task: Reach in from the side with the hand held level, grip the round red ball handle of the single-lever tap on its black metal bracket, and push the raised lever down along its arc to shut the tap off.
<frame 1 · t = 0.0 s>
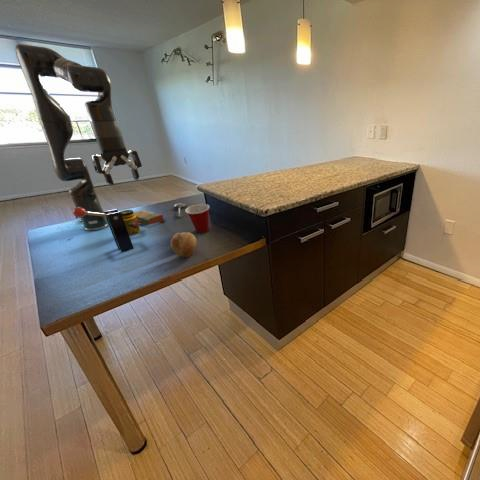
hand: (124, 181, 97), 29 cm above the table, tool pointing down, fingers open, 8 cm apart
plastic cup: (202, 230, 128), on the table
carton: (147, 222, 137), on the table
condiment: (132, 236, 122), on the table
bread roll: (186, 251, 110), on the table
tap lever: (96, 214, 98), point 18 cm above the table, hinge at 25.0°
tap bracket: (127, 251, 109), on the table
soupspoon: (180, 212, 151), on the table
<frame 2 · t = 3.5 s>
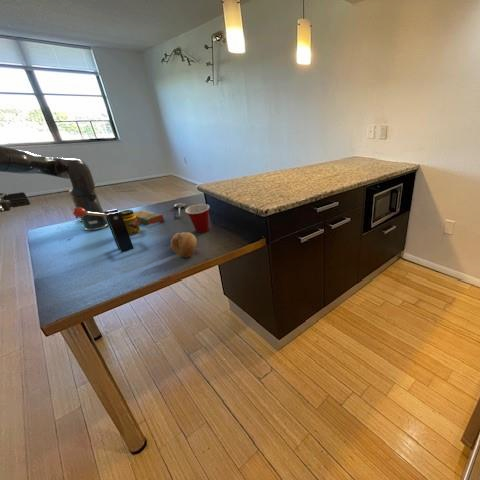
hand: (27, 198, 83), 28 cm above the table, tool horizontal, fingers open, 8 cm apart
nothing on the table moved.
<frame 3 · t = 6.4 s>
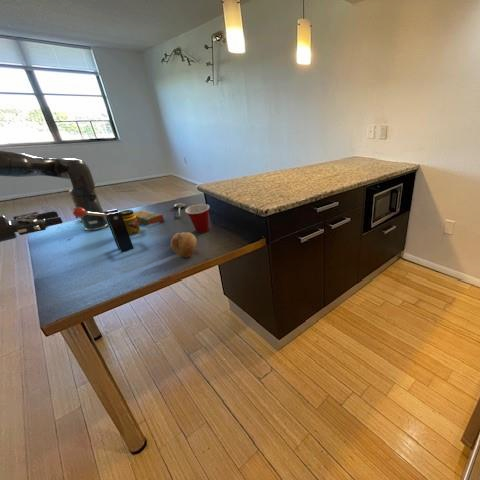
hand: (59, 216, 90), 20 cm above the table, tool horizontal, fingers open, 8 cm apart
nothing on the table moved.
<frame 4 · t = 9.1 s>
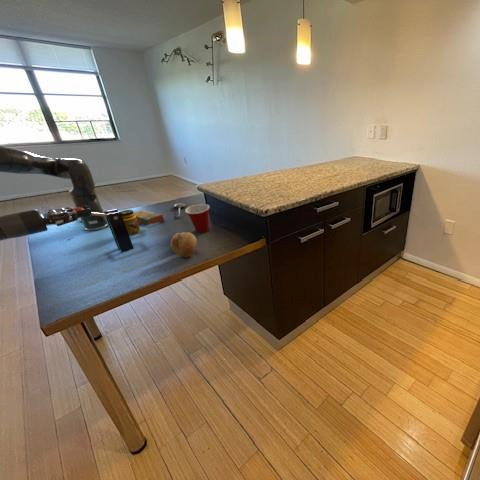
hand: (89, 210, 96), 20 cm above the table, tool horizontal, fingers closed on tap lever, 3 cm apart
tap lever: (96, 214, 98), point 18 cm above the table, hinge at 25.0°, touching gripper
everything else where it was.
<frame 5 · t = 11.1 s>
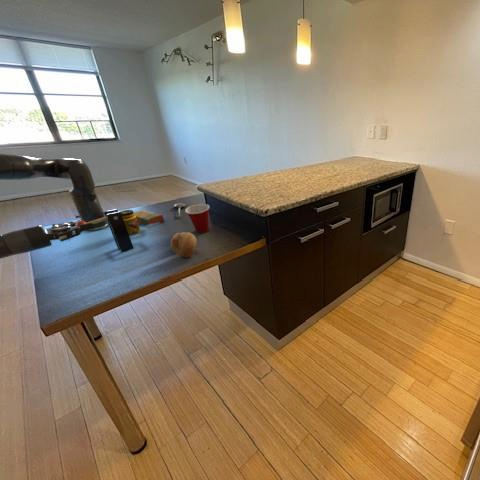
hand: (91, 223, 97), 15 cm above the table, tool horizontal, fingers closed on tap lever, 3 cm apart
tap lever: (97, 220, 98), point 16 cm above the table, hinge at -4.8°, touching gripper
everything else where it was.
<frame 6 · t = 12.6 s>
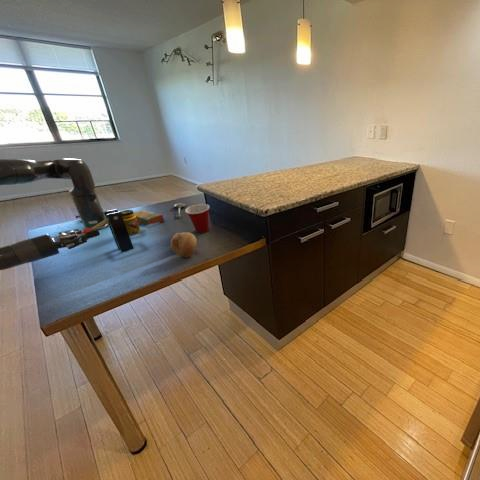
hand: (97, 230, 99), 12 cm above the table, tool horizontal, fingers closed on tap lever, 3 cm apart
tap lever: (100, 224, 99), point 14 cm above the table, hinge at -22.9°, touching gripper
everything else where it was.
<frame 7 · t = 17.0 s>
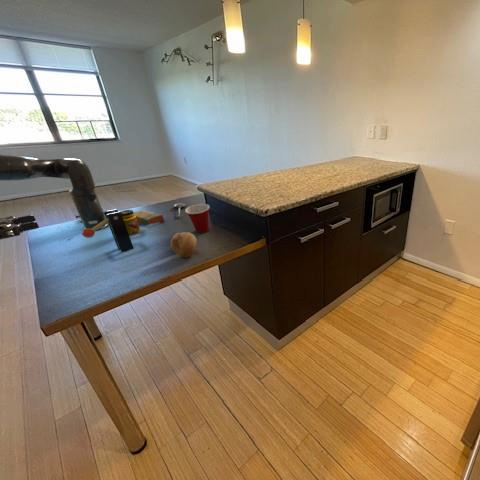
hand: (36, 220, 86), 20 cm above the table, tool horizontal, fingers open, 8 cm apart
tap lever: (100, 224, 99), point 14 cm above the table, hinge at -23.9°
everything else where it was.
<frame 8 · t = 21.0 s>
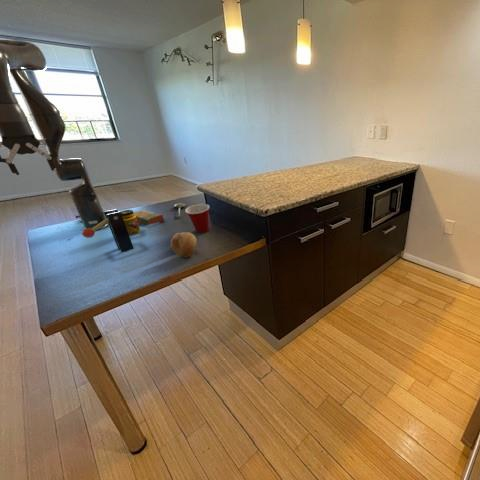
hand: (35, 172, 88), 34 cm above the table, tool pointing down, fingers open, 8 cm apart
nothing on the table moved.
at the end: tap lever at -24° (first picture: +25°); the gripper is holding nothing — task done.
